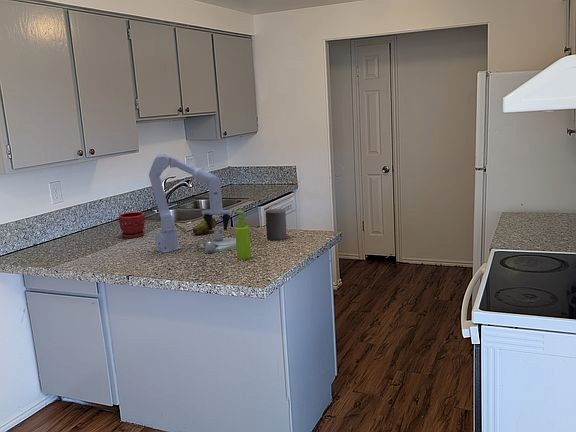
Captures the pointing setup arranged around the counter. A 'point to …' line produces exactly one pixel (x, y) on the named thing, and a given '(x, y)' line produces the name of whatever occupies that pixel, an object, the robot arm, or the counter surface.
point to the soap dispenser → (242, 238)
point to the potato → (203, 227)
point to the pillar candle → (276, 224)
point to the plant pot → (132, 224)
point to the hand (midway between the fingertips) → (218, 230)
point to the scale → (223, 244)
